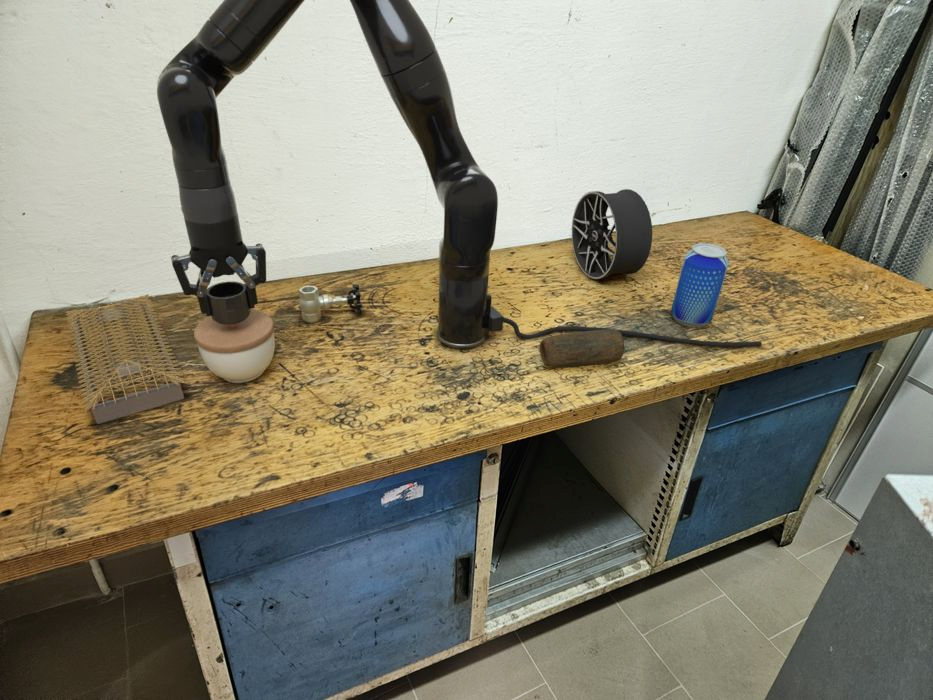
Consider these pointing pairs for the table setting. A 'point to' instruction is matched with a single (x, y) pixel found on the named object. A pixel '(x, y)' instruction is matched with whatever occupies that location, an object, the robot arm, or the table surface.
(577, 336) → the brown wooden log
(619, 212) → the wheel rim
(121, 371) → the rafter model
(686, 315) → the beer can
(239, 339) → the lidded bowl
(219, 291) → the dark gray metal cup
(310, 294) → the valve
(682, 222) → the table surface
